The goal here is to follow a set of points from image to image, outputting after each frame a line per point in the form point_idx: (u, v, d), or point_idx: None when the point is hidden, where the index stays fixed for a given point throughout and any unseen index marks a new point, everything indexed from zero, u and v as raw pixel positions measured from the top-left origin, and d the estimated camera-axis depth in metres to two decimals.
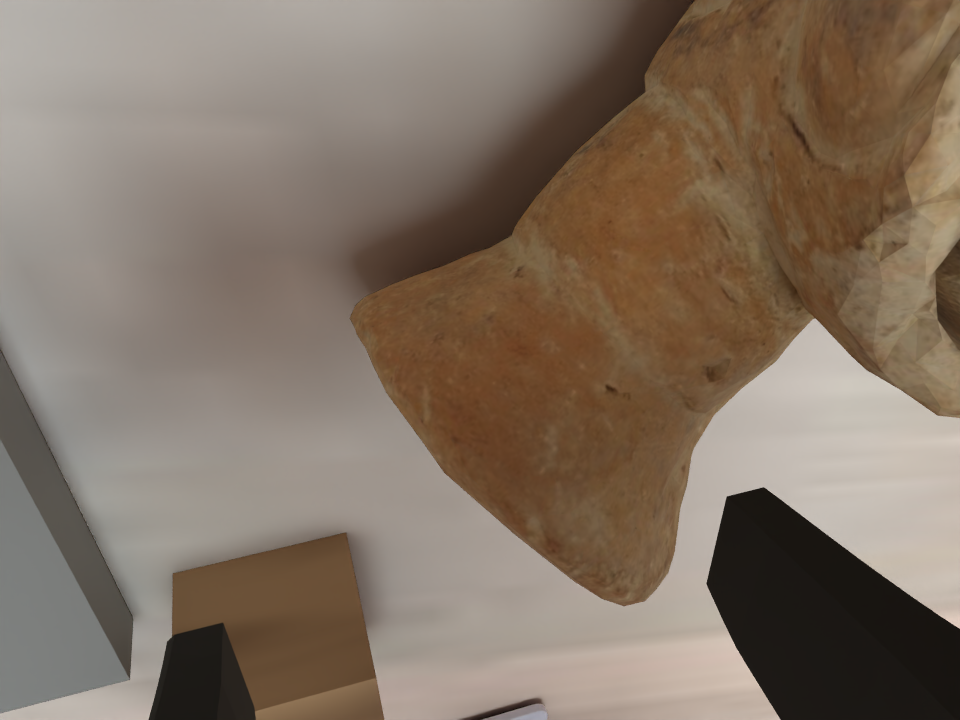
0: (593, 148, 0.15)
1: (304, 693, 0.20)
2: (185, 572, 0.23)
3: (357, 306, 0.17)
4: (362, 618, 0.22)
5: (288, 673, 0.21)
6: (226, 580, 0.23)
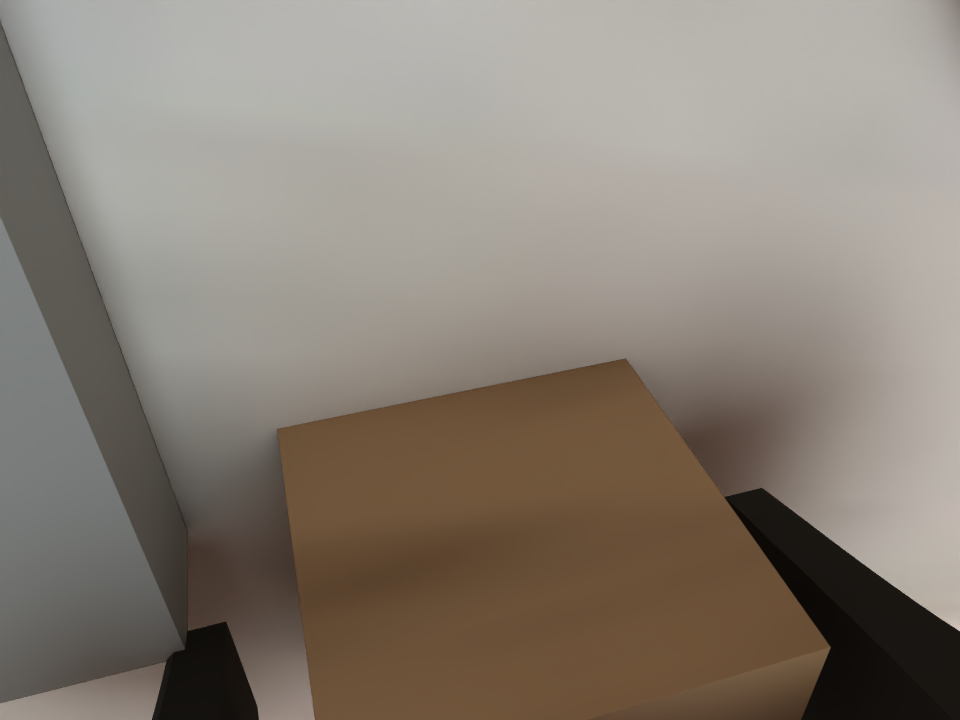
0: None
1: (660, 685, 0.08)
2: (304, 427, 0.11)
3: None
4: (733, 514, 0.09)
5: (598, 636, 0.08)
6: (396, 441, 0.11)
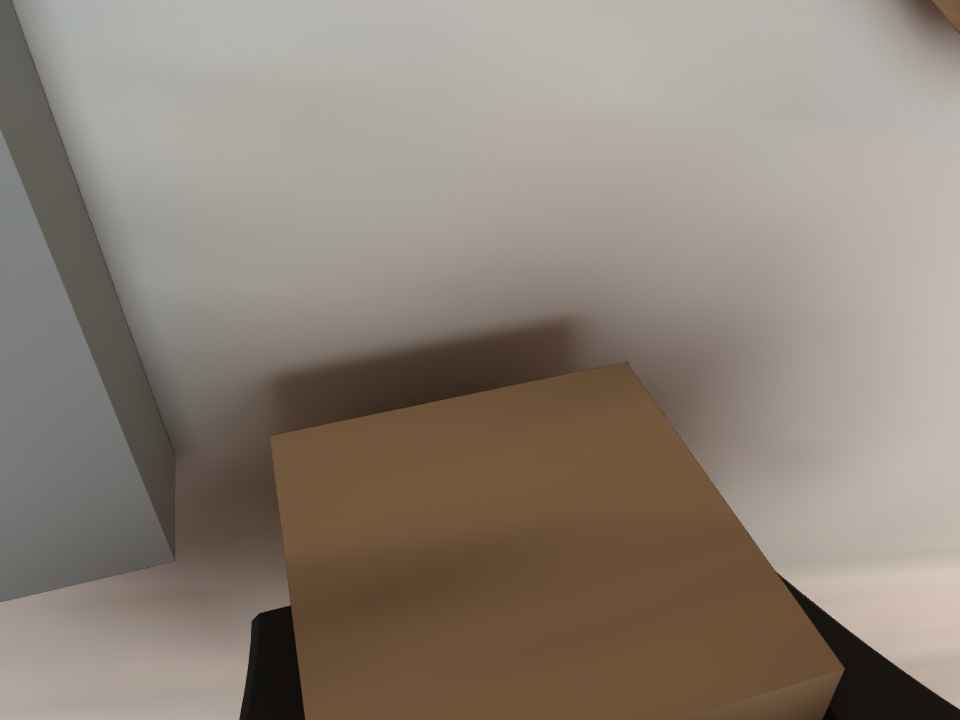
0: None
1: (668, 711, 0.07)
2: (298, 438, 0.11)
3: None
4: (742, 527, 0.09)
5: (604, 657, 0.08)
6: (393, 452, 0.10)
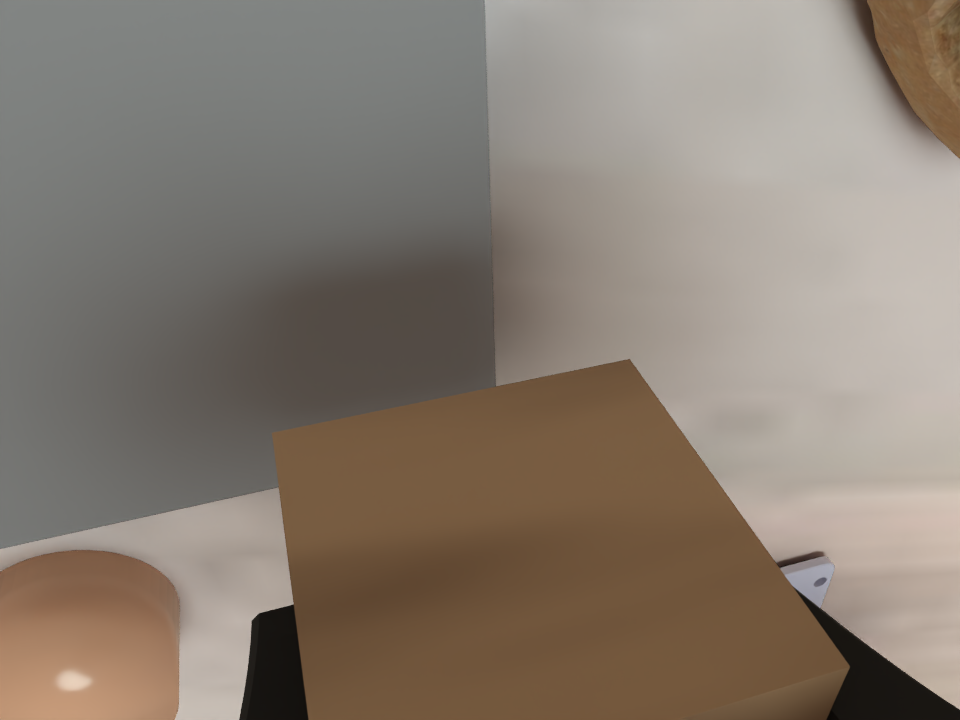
0: None
1: (671, 708, 0.07)
2: (300, 434, 0.10)
3: None
4: (746, 525, 0.09)
5: (609, 656, 0.08)
6: (396, 449, 0.10)
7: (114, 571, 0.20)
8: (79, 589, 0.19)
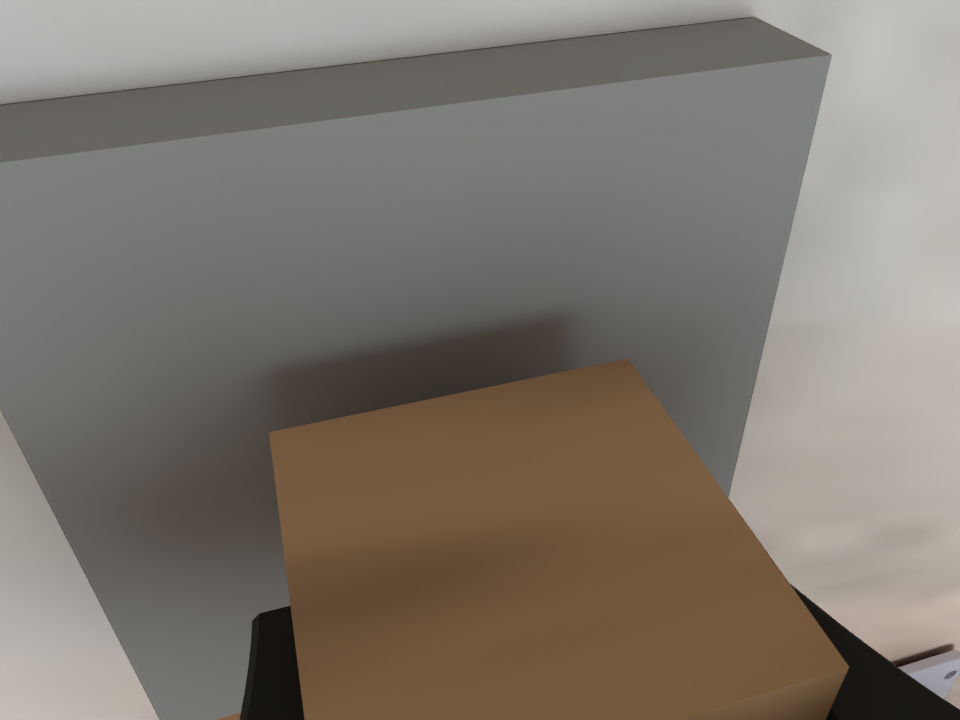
0: None
1: (670, 708, 0.07)
2: (297, 434, 0.10)
3: None
4: (745, 524, 0.09)
5: (606, 655, 0.08)
6: (393, 448, 0.10)
7: None
8: None
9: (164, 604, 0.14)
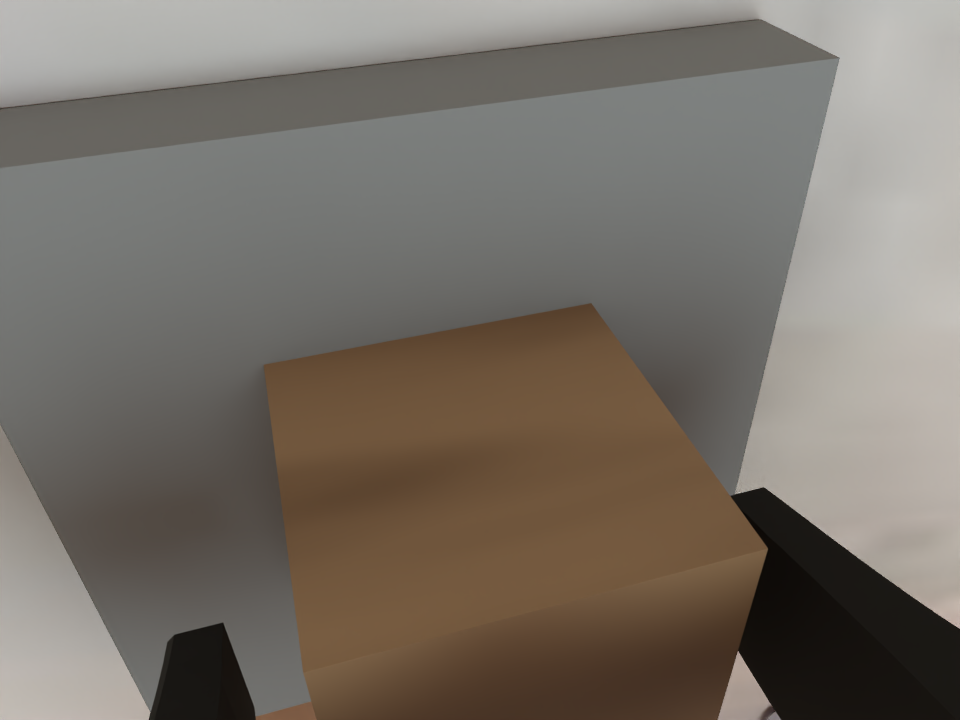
0: None
1: (610, 580, 0.09)
2: (289, 366, 0.12)
3: None
4: (686, 437, 0.10)
5: (557, 540, 0.09)
6: (375, 378, 0.11)
7: (308, 717, 0.20)
8: None
9: (163, 612, 0.14)
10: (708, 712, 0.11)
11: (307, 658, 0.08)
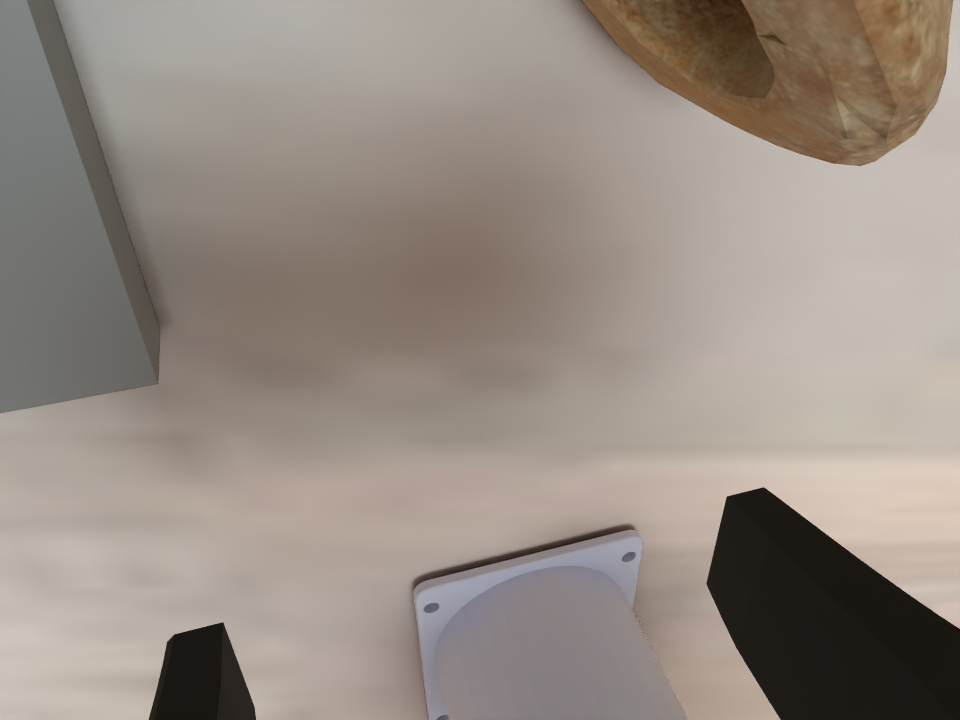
0: None
1: None
2: None
3: None
4: None
5: None
6: None
7: None
8: None
9: None
10: None
11: None
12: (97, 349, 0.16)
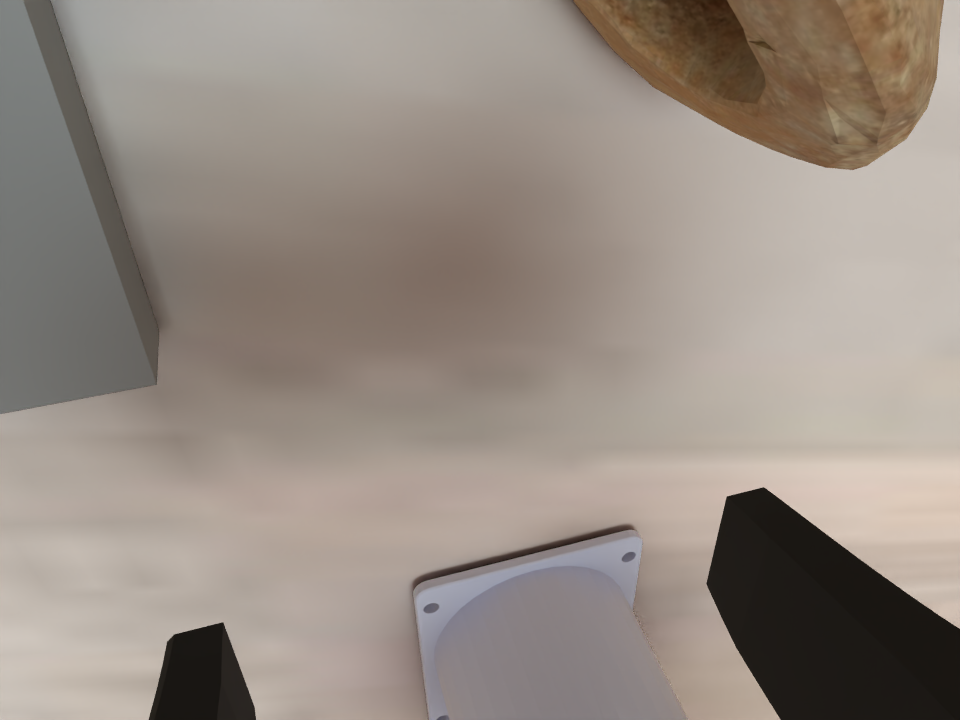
0: None
1: None
2: None
3: None
4: None
5: None
6: None
7: None
8: None
9: None
10: None
11: None
12: (95, 350, 0.16)
